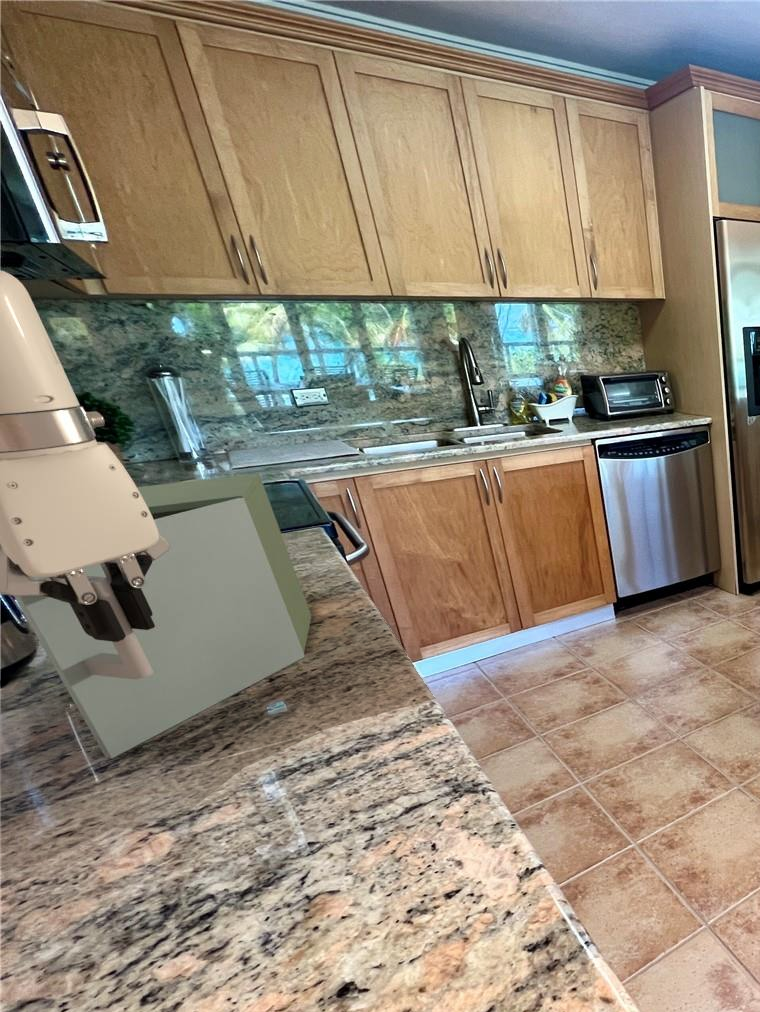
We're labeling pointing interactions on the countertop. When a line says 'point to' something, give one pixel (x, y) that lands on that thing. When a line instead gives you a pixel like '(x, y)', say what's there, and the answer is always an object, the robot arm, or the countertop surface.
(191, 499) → the cupboard
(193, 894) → the countertop surface
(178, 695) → the door
